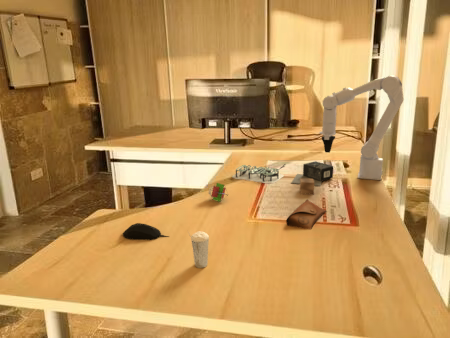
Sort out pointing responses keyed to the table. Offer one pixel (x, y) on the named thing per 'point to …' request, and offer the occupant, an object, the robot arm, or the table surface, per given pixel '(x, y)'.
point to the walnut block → (306, 186)
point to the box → (318, 171)
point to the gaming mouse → (142, 232)
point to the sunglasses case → (305, 215)
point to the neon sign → (258, 174)
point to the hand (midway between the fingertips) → (327, 152)
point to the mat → (298, 176)
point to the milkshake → (200, 248)
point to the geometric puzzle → (217, 192)
